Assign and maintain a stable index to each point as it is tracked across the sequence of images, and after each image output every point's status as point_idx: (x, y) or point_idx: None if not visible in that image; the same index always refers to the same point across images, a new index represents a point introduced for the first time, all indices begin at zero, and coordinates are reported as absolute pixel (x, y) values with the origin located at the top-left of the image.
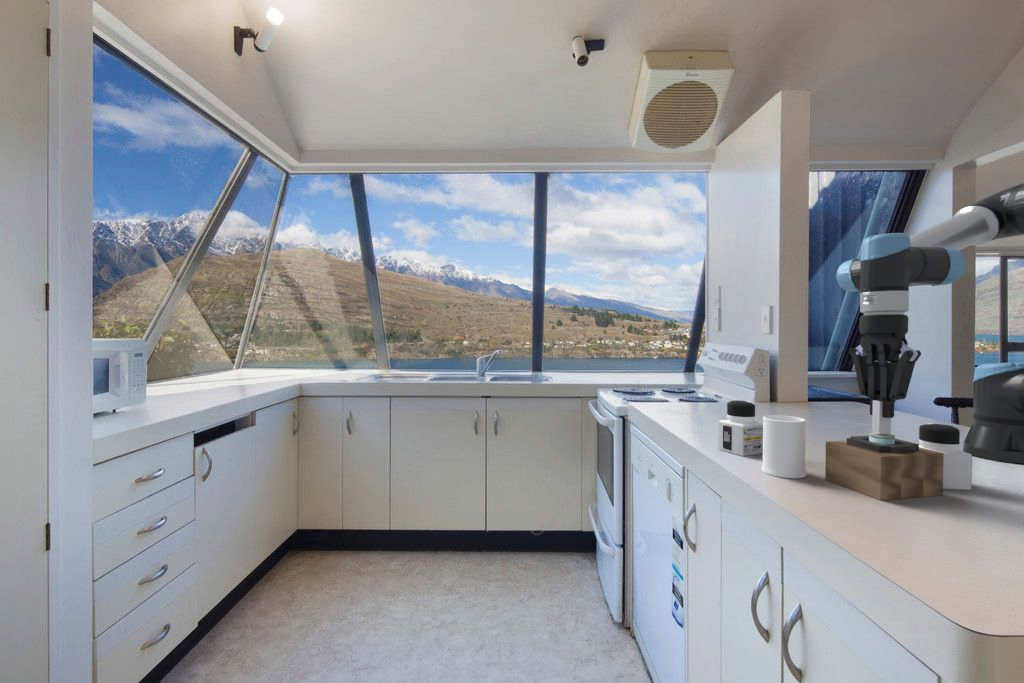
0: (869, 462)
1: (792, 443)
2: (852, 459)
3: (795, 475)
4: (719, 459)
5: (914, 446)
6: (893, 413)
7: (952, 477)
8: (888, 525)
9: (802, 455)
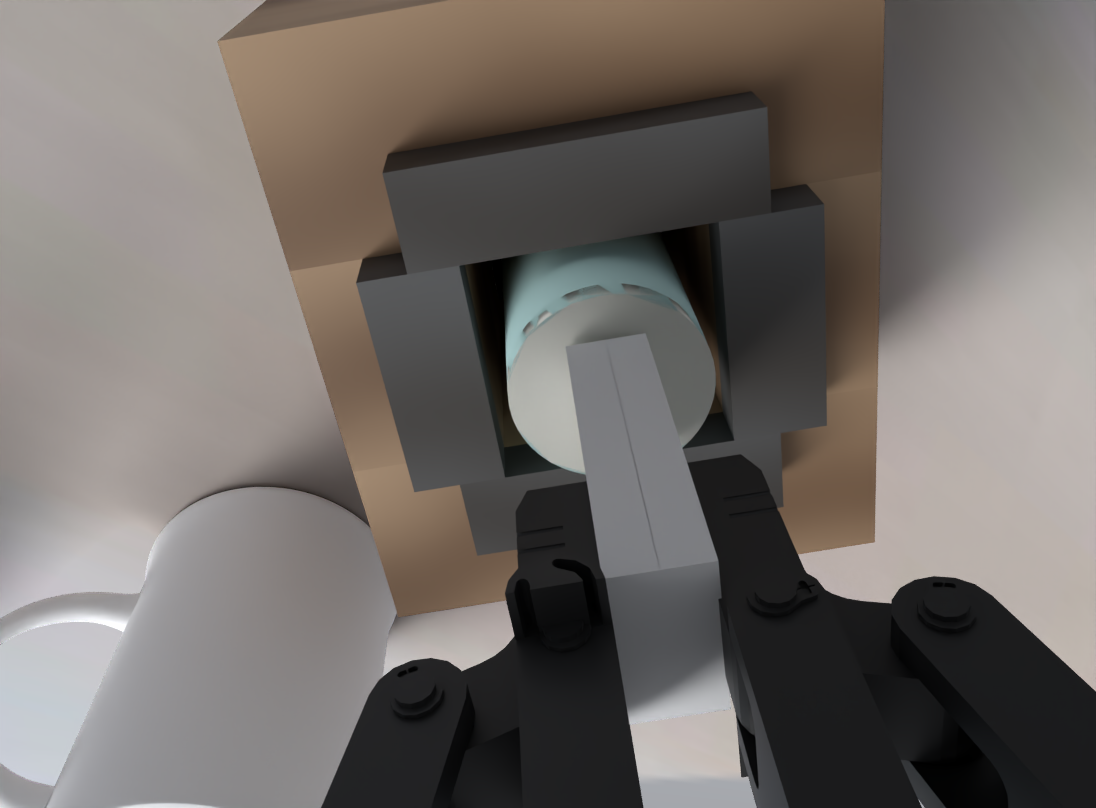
0: None
1: None
2: None
3: None
4: (23, 773)
5: (820, 213)
6: (765, 491)
7: None
8: (1054, 555)
9: (357, 636)
